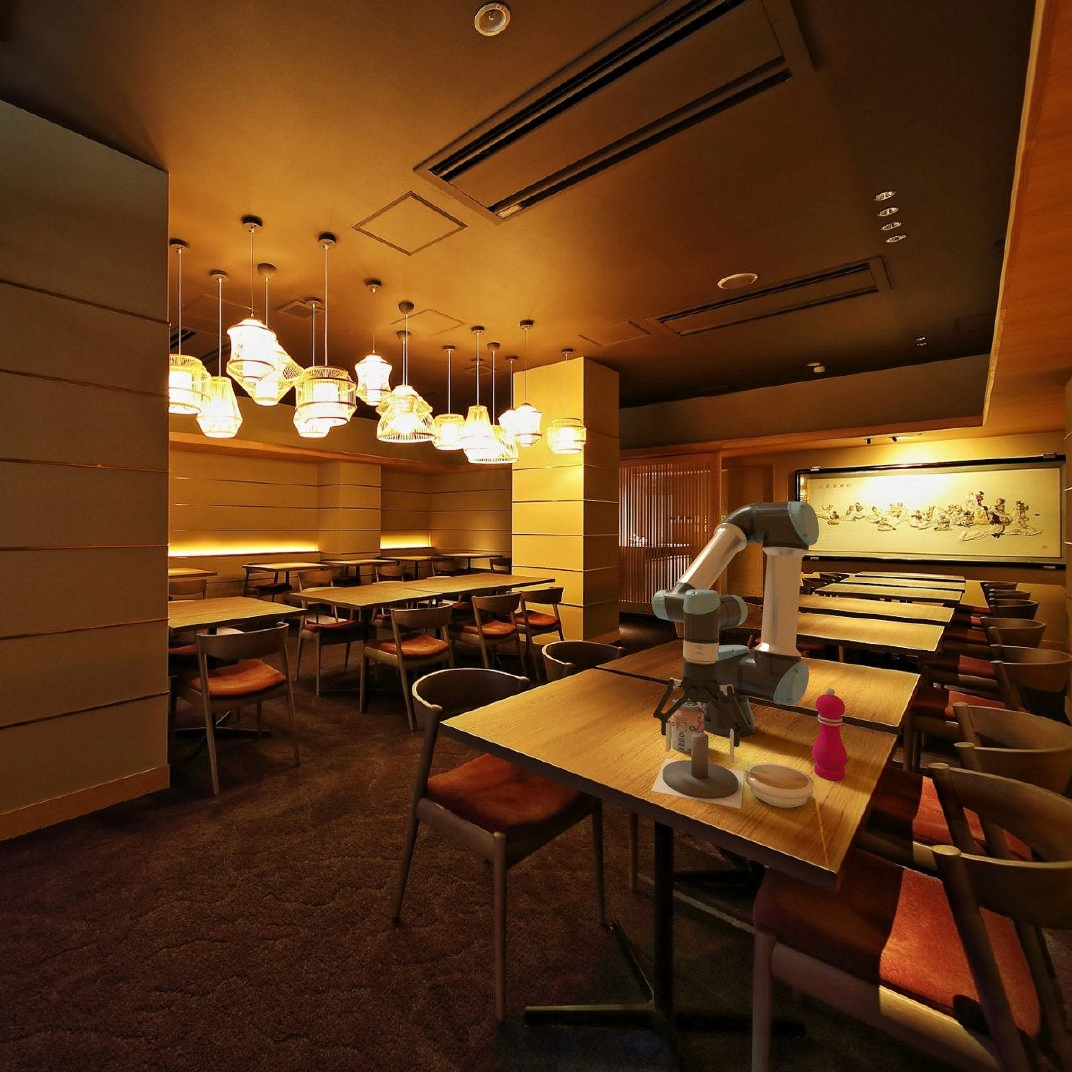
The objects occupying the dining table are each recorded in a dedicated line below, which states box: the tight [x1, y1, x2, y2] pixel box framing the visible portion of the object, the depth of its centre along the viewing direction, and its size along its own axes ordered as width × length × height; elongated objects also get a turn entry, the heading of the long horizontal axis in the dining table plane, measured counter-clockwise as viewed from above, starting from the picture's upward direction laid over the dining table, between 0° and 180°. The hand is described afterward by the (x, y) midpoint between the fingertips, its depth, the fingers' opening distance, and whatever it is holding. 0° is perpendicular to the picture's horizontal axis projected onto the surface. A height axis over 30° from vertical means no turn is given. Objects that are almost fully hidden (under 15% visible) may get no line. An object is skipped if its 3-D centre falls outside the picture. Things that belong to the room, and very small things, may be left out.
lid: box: [663, 732, 738, 799], centre depth 120 cm, size 16×16×10 cm
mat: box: [650, 758, 745, 810], centre depth 120 cm, size 18×18×1 cm
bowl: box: [744, 762, 815, 809], centre depth 113 cm, size 13×13×5 cm
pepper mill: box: [811, 687, 849, 781], centre depth 125 cm, size 7×7×20 cm
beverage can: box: [670, 699, 707, 754], centre depth 139 cm, size 9×8×12 cm
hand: (699, 755), depth 120 cm, fingers open, 13 cm apart
